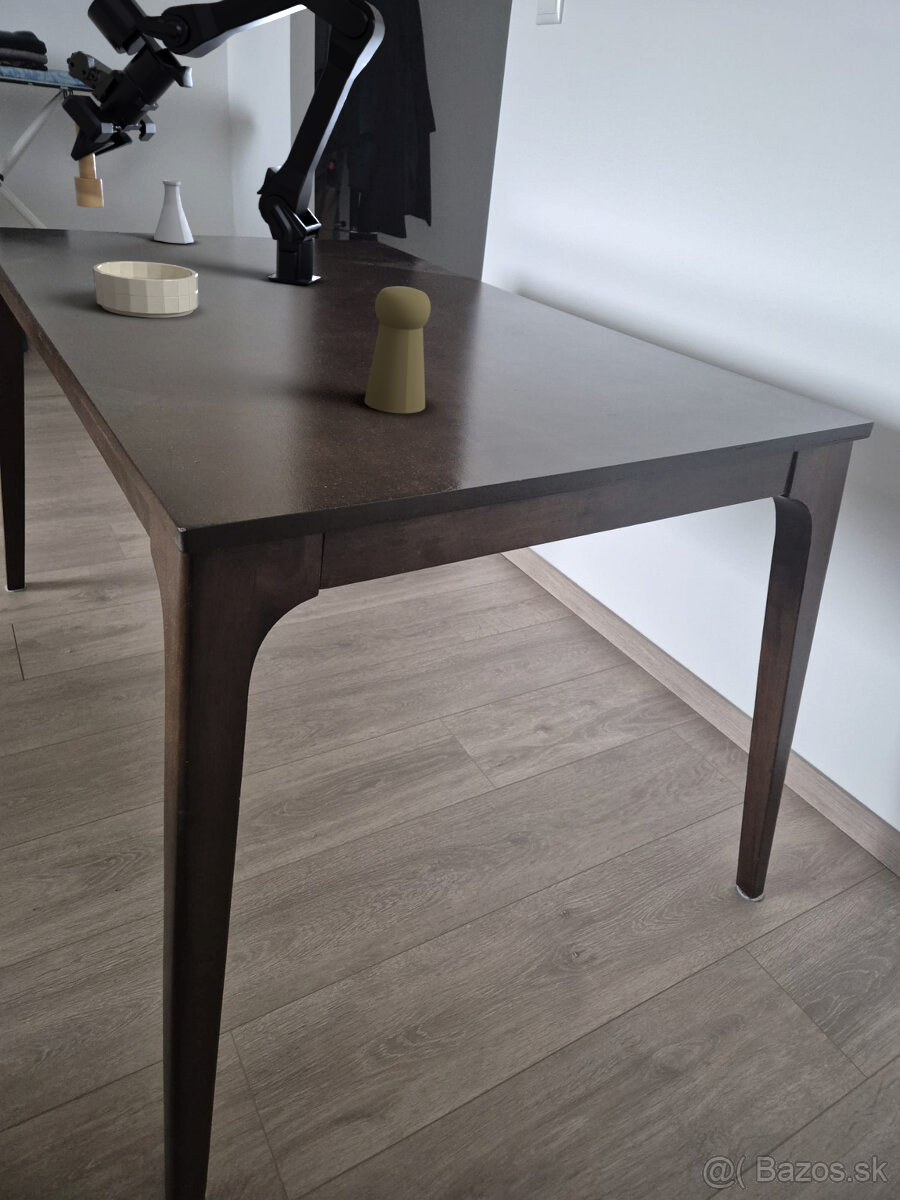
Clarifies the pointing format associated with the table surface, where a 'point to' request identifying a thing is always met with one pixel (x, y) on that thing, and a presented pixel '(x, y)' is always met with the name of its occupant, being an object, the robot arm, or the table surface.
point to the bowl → (146, 289)
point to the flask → (172, 217)
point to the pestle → (88, 183)
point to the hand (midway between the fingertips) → (77, 158)
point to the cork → (399, 351)
